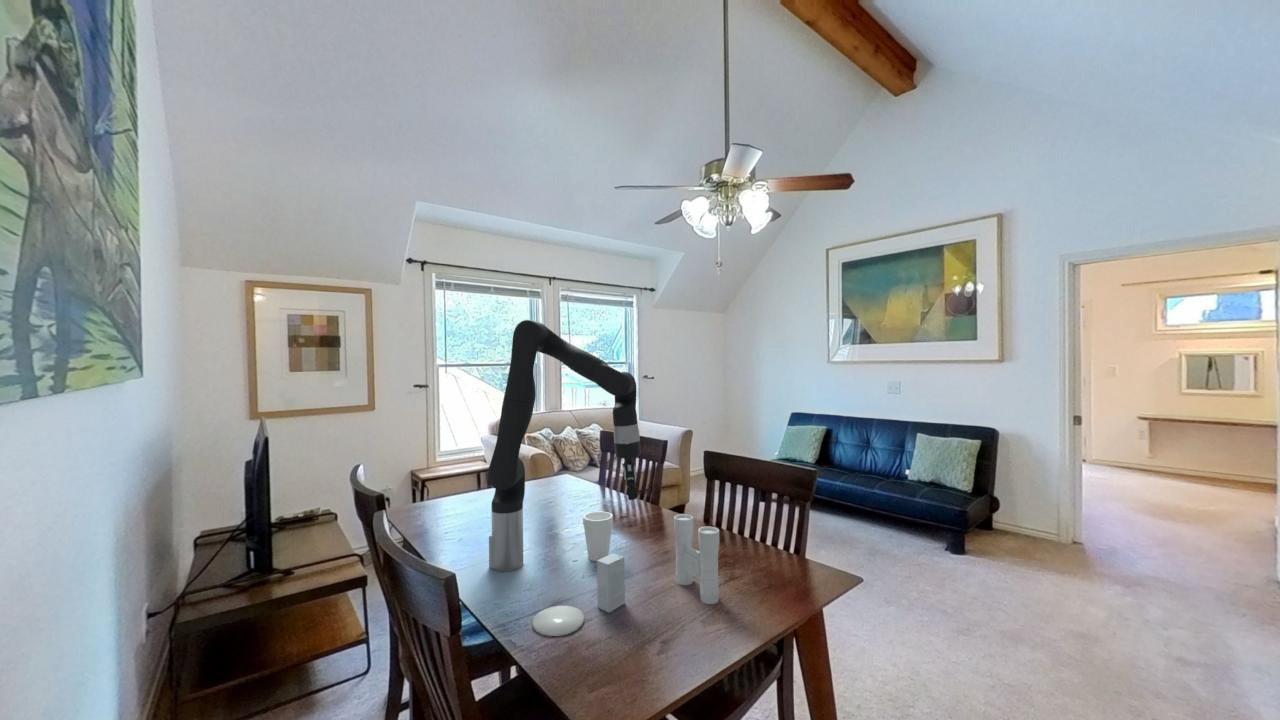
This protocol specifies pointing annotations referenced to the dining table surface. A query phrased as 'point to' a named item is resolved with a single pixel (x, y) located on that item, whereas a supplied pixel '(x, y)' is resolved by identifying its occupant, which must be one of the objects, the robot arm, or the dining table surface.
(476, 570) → the dining table surface
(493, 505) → the robot arm
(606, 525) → the foam cup
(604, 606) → the skincare box
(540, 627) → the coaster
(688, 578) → the binoculars
